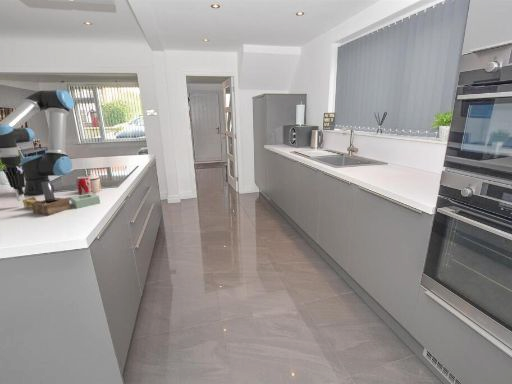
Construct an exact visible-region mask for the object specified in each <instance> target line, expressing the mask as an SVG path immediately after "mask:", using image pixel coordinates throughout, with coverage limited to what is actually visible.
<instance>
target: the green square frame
mask: <svg viewBox="0 0 512 384" xmlns="http://www.w3.org/2000/svg"><path fill="white" fill-rule="evenodd" d="M70 204H71V205H72V206H73V207H74V208H75V209H82V208H87V207H89V206H94V205H98V204H101V199H100V196H99V195H97V194H95V193H89V194H83V195H79V194H78V195H74V196H70Z"/></svg>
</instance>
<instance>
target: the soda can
mask: <svg viewBox="0 0 512 384" xmlns="http://www.w3.org/2000/svg"><path fill="white" fill-rule="evenodd" d="M75 183H76V187H77V193H78V195H83V194H89V193H93V191H92V186H91V181H90V179H89V178H88V175H84V176H83V175H81V176H77V177H76V182H75Z"/></svg>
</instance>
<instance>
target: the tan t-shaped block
mask: <svg viewBox="0 0 512 384" xmlns="http://www.w3.org/2000/svg"><path fill="white" fill-rule="evenodd" d="M39 201H40V200H37V198H36V197H34V196H32V197H29V198H25V200H22V203H23V207H24V208H25V209H29V208H32V203H36V202H39Z"/></svg>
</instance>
